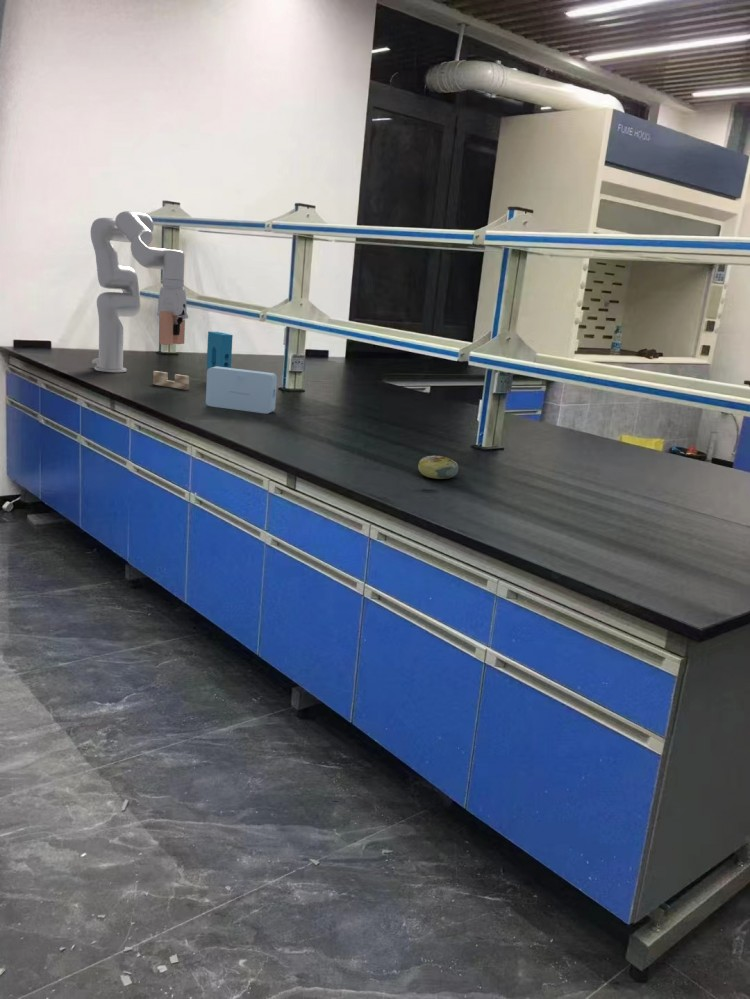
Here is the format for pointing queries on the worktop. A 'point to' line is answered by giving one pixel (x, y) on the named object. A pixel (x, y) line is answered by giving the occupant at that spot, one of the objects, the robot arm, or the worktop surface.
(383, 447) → the worktop surface
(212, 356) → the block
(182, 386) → the slot plate base
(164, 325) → the terracotta plate
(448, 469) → the cell model
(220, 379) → the pale blue box
